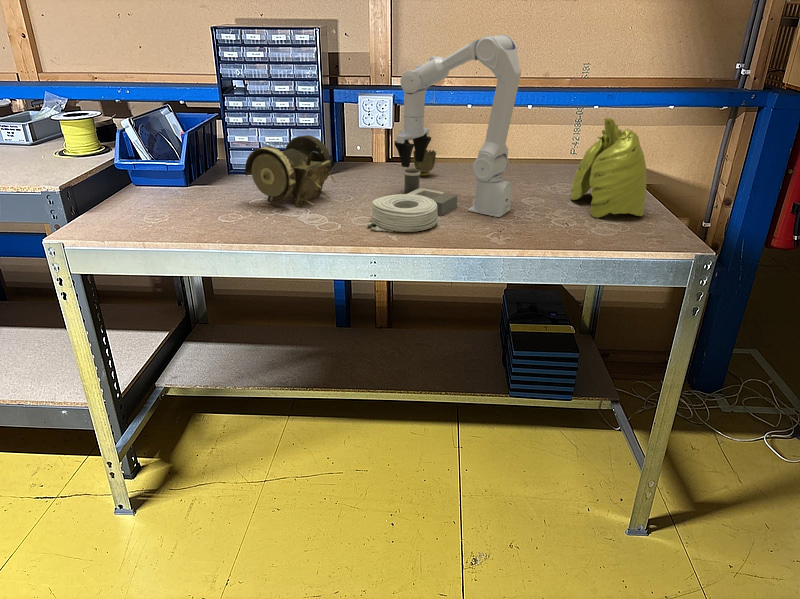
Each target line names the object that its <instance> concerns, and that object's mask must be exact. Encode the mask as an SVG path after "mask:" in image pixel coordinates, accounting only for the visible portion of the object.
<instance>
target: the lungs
mask: <svg viewBox="0 0 800 599" xmlns="http://www.w3.org/2000/svg"><path fill="white" fill-rule="evenodd" d="M601 134H602V135H601V136H597V139H599V140H598V141H596V142H595V143H593V144H592V145H591V146H590V147H589V148H588V149H587V150H586V152H585V154H584V155H583V158H582V159H581V160H580V162H579V165H578V167H577V169H576V172H575V173H574V176H573V177H574V178H573V181H572V184H571V186H570V192H571V193H570V199H571V200H572V201H575V200H579V199H581V198H582V197H583V195H585V194H587V192H588V191H589V190H590V189H592V190H591V197H592V199H591V202H590V205H591V206H590V209H589V213H590V216H592V217H593V218H595V217H596V218H595V219H599V218H602V217H604V216H607V215H609V214H613V215H617V214H618V215H619V214H624V215H625V214H630V215H634V216H638V217H643V215H644V212H645V205H646V203H645V202H646V195H647V164H646V159H645V155H644V151H643V149H642V146H641V143H640V139H639V136H638V134H636V133H635V132H634V131H632V130H631V129H628V128H626V129H624V130H623V131H622V129H620V128H619V125H617V124H616V121H615V120H614V119H613V118H611V117H606V118H604V129H602V130H601Z"/></svg>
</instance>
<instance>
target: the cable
mask: <svg viewBox="0 0 800 599" xmlns="http://www.w3.org/2000/svg"><path fill="white" fill-rule="evenodd" d="M437 213H438V212H437V204H436V202H435V201H434V200H432V199H430V198H428V197H425V196H421V195H410V194H401V193H400V194H391V195H389V194H388V195H386V196H385V195H384V196H380V197H378V198H375V199H374V200H372V204H371V210H370V217H371V218H370V219H371V222H367V227H368V228H370V230H371V231H373V232H381V231H383V233H385V231H388V232H391V233H393V231H395V233H402V232H405V233H410V232H411V233H412V232H419V231H426V230H428V229H429V228H430V229H431V228H433V227H435V226H436V225H437V223H438V222H439V220H438V219H439V215H438V214H437ZM388 232H387V233H388Z"/></svg>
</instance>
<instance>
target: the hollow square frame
mask: <svg viewBox="0 0 800 599" xmlns="http://www.w3.org/2000/svg"><path fill="white" fill-rule="evenodd" d="M408 194H410V195H421V196H425V197H428V198H430V199H432V200H434V201H435V202H436V204H437V212H438V213H437V214H438V215H437V216H438V217H439V216H440V217H442V216H444V215H446V214H448V213H449V212H451V211H454V208H455V209H456V208H457V207H458V196H459V195H458V194H453V193H449V192H444V191H440V190H434V189H429V188H424V187H419V189H416V190H414V191H412V192H410V193H408Z"/></svg>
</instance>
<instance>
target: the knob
mask: <svg viewBox="0 0 800 599" xmlns="http://www.w3.org/2000/svg"><path fill="white" fill-rule="evenodd" d="M403 172H404V173H403V174H404V187H403V188H404V191H403V192H404V194H408V193H410V192H412V191H414V190H416V189H419V188H420V179H421V176H420V170H419V169H416V168H412V167H411V168H406V169H404V171H403Z"/></svg>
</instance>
